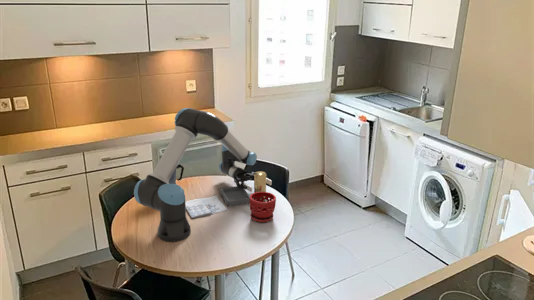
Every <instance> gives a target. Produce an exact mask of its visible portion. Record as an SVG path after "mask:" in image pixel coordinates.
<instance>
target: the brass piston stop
mask: <svg viewBox="0 0 534 300" xmlns="http://www.w3.org/2000/svg"><path fill="white" fill-rule="evenodd" d="M266 175H267V173H266V172H265V171H255V173H254V180H253V181H254V182H253V186H254V187H253V190H254V191H253V193H256V192H267V183H266ZM264 198H265V196H264ZM256 199H257V198H256ZM256 199H255V200H256ZM261 199H262V198H260V200H261ZM258 202H259V201H258ZM263 202H267V200H266V199H264V200H263Z"/></svg>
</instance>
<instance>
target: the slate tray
mask: <svg viewBox="0 0 534 300" xmlns="http://www.w3.org/2000/svg"><path fill="white" fill-rule="evenodd" d="M220 195H221V197H222V198H223V200H224V202H225V204H226V206H227V207H234V206H241V205H247V204H249V200H250V195H249V193H248V192H247V190H246V189H244V188H243V189H241V187H240V188H239V189H238V188H237V185H236V186H230V187H222V188H220Z"/></svg>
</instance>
